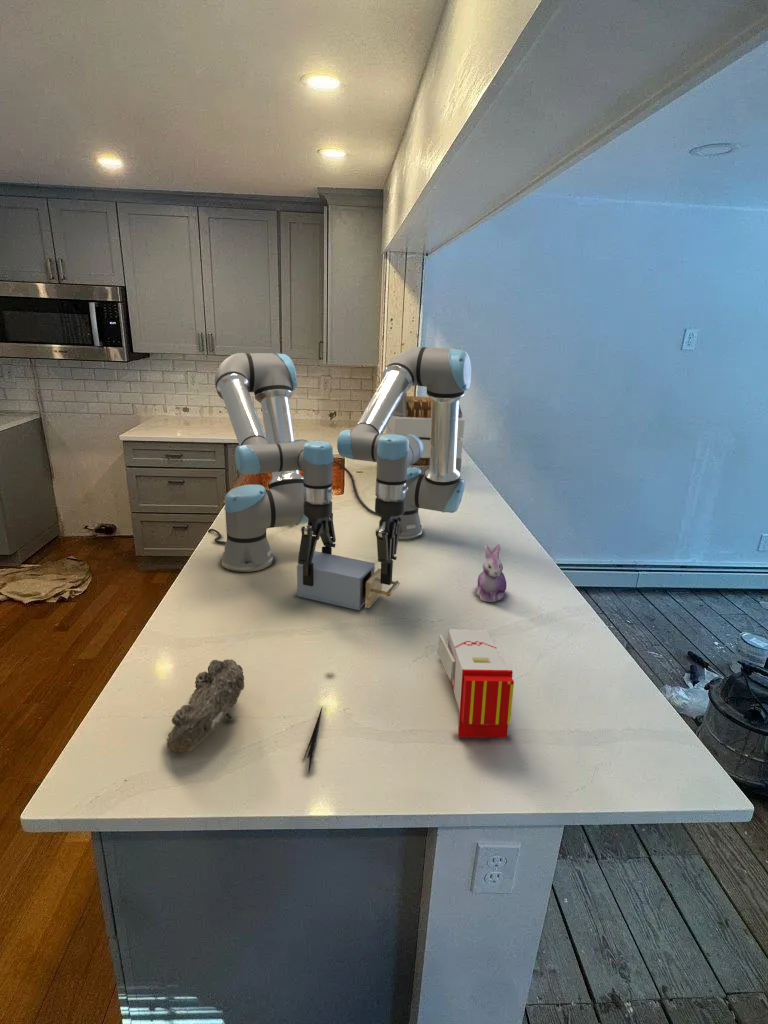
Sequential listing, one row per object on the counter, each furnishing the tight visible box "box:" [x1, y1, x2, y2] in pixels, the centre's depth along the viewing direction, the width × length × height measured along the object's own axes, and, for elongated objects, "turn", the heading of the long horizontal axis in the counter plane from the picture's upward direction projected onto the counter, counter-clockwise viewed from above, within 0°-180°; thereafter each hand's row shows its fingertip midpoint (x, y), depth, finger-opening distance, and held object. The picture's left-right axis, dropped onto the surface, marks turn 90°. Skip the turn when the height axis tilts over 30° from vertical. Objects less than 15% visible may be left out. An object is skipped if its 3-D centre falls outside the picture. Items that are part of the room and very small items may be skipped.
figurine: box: [476, 544, 507, 603], centre depth 157 cm, size 9×10×15 cm
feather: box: [301, 673, 332, 771], centre depth 108 cm, size 2×28×2 cm
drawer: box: [361, 567, 401, 609], centre depth 152 cm, size 22×9×7 cm, turn 69°
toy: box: [437, 628, 515, 738], centre depth 117 cm, size 12×13×30 cm
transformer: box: [385, 392, 465, 475], centre depth 268 cm, size 34×33×41 cm
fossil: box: [166, 658, 245, 754], centre depth 106 cm, size 22×10×15 cm
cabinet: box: [296, 550, 376, 611], centre depth 154 cm, size 18×10×9 cm, turn 69°
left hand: (317, 576), depth 156 cm, fingers closed on cabinet, 10 cm apart
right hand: (385, 583), depth 149 cm, fingers closed
